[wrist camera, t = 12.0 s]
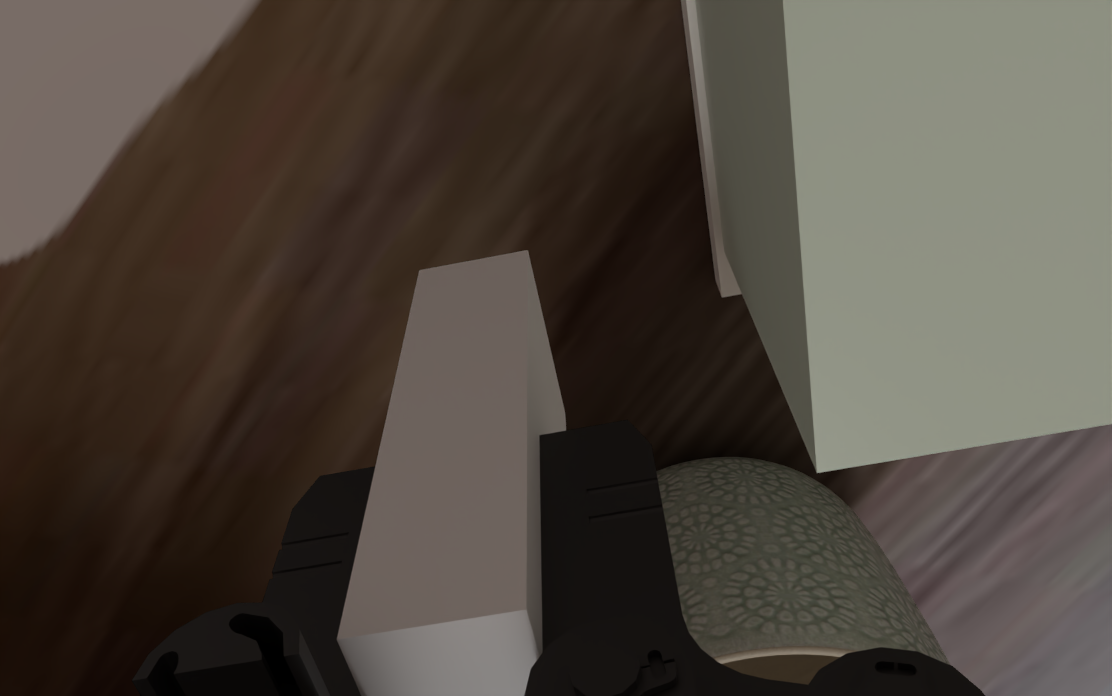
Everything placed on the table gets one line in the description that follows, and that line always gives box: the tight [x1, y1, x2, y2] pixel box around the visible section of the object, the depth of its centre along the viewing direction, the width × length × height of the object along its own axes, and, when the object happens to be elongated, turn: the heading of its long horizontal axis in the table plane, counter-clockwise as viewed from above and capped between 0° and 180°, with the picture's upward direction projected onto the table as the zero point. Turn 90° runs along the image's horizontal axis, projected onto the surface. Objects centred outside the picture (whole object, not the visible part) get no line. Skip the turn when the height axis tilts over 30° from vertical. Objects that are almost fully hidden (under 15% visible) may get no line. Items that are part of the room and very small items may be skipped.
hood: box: [695, 0, 1112, 473], centre depth 21 cm, size 16×13×11 cm
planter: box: [656, 457, 950, 685], centre depth 32 cm, size 12×12×11 cm
